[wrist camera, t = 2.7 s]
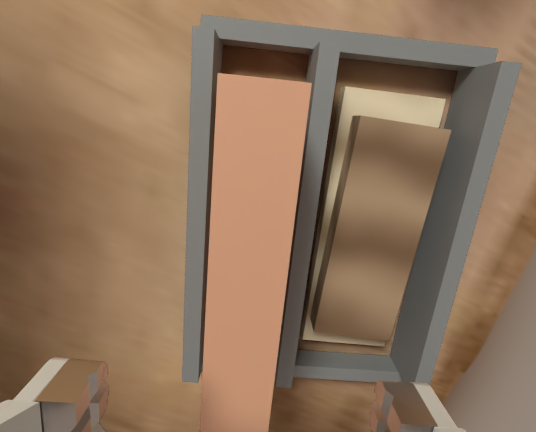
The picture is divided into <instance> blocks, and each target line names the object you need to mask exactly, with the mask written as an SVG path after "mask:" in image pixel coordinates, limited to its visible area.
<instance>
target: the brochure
mask: <svg viewBox="0 0 536 432" xmlns="http://www.w3.org/2000/svg"><path fill="white" fill-rule="evenodd" d="M91 432H106V431H105V430H104V429H103V428H102V426H101V425H100V424H99V423H97V424H95V425H94V426H93V427H91Z"/></svg>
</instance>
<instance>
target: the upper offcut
mask: <svg viewBox="0 0 536 432" xmlns="http://www.w3.org/2000/svg"><path fill="white" fill-rule="evenodd" d="M450 134H451V130H449V129H443V128H436V127H430V126H424V125H418V124H411V123H405V122H399V121H392V120H386V119H380V118H374V117H367V116H361V115H358V116H352V121H351V125H350V130H349V135H348V140H347V144H346V149H345V154H344V159H343V163H342V168H341V173H340V177H339V182H338V187H337V192H336V196H335V201H334V206H333V210H332V215H331V220H330V225H329V229H328V234H327V239H326V243H325V248H324V253H323V258H322V262H321V267H320V272H319V277H318V281H317V286H316V291H315V295H314V300H313V305H312V310H311V314H310V319H311V323H312V327H313V331H314V332H319V333H327V334H336V335H344V336H353V337H361V338H370V339H378V340H387V341H390V338H391V334H392V331H393V328H394V324H395V321H396V317H397V314H398V311H399V307H400V304H401V300H402V297H403V294H404V290H405V287H406V283H407V280H408V277H409V273H410V270H411V266H412V263H413V260H414V256H415V253H416V249H417V246H418V243H419V239H420V236H421V232H422V229H423V225H424V222H425V219H426V215H427V212H428V208H429V205H430V202H431V198H432V195H433V191H434V188H435V185H436V181H437V178H438V174H439V171H440V168H441V164H442V161H443V157H444V154H445V151H446V147H447V144H448V140H449V137H450Z"/></svg>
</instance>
